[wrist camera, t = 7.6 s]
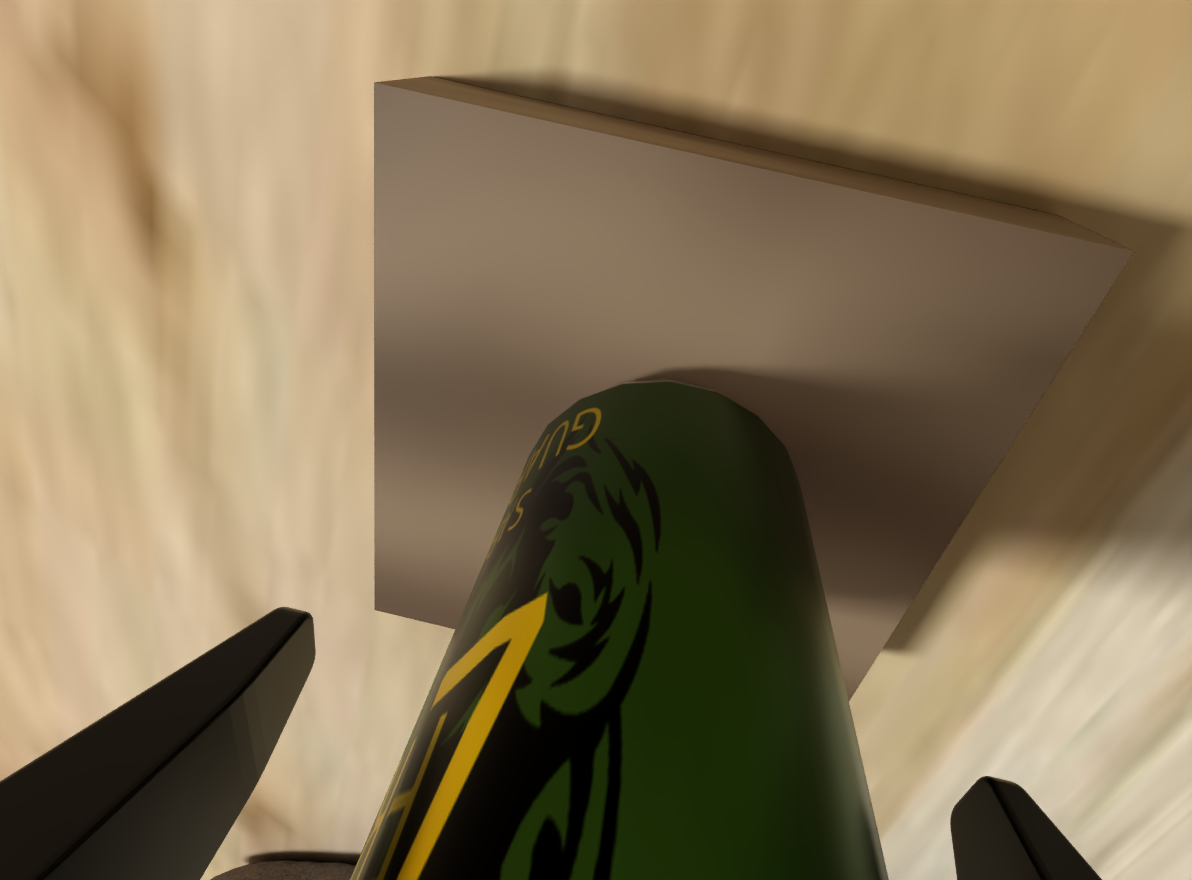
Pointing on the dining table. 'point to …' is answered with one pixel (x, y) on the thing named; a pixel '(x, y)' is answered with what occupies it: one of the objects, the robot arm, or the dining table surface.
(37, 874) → the robot arm
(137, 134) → the dining table surface
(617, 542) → the beer can
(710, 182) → the walnut block
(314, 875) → the perforated stone tool
